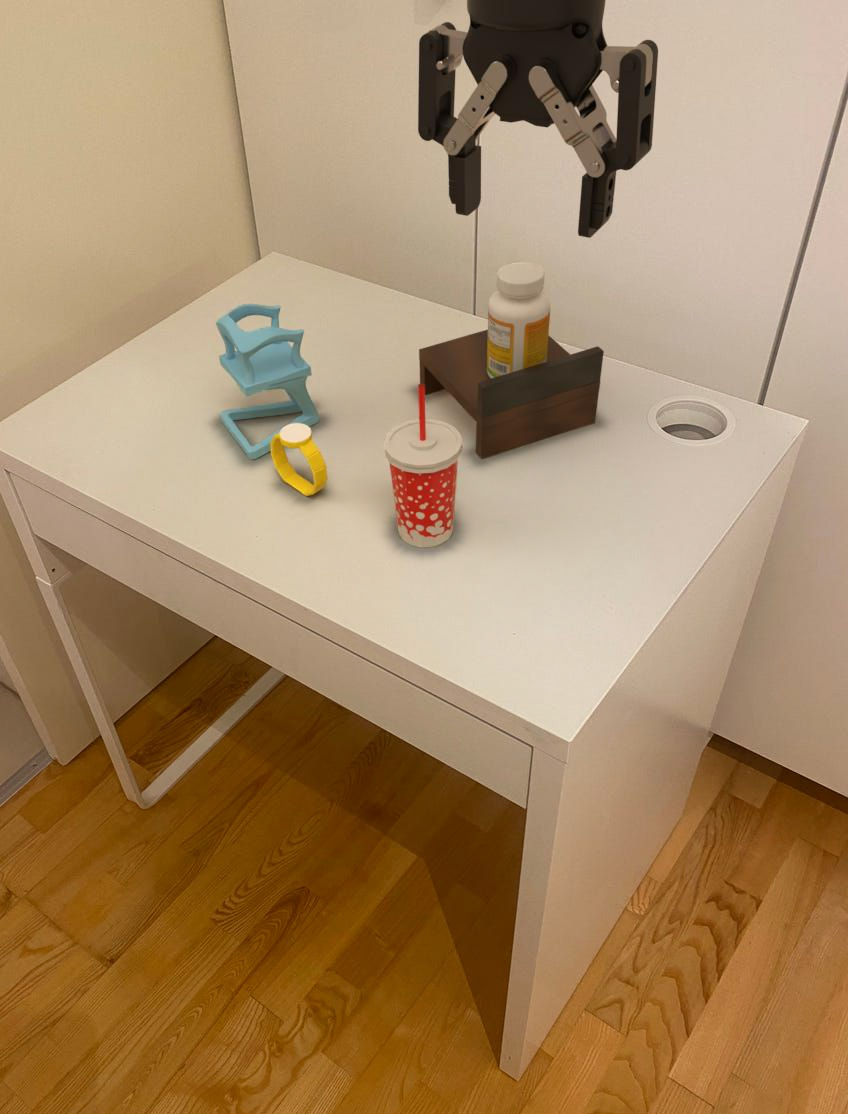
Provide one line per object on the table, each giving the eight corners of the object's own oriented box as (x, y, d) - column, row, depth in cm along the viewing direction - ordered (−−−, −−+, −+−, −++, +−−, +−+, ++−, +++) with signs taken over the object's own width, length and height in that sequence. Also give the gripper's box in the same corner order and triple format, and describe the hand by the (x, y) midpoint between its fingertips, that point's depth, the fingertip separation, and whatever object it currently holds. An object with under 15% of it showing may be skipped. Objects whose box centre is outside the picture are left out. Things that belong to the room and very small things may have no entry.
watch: (268, 480, 90) (258, 425, 85) (291, 466, 91) (282, 411, 86) (313, 508, 86) (305, 452, 82) (336, 493, 88) (329, 437, 83)
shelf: (526, 357, 101) (530, 288, 95) (595, 422, 92) (604, 350, 87) (419, 389, 98) (417, 320, 93) (481, 459, 90) (483, 387, 84)
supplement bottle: (545, 356, 92) (552, 256, 85) (546, 389, 89) (554, 287, 82) (486, 357, 93) (489, 257, 86) (486, 389, 89) (488, 288, 82)
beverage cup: (457, 556, 81) (458, 410, 71) (384, 551, 82) (374, 406, 72) (465, 508, 85) (466, 364, 75) (395, 504, 86) (386, 361, 76)
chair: (330, 433, 94) (318, 316, 85) (250, 461, 92) (229, 344, 83) (297, 394, 99) (282, 281, 90) (220, 420, 97) (197, 306, 88)
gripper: (699, -102, 50) (656, 216, 62) (454, -109, 56) (457, 182, 68) (642, -67, 46) (608, 267, 58) (385, -79, 52) (401, 226, 64)
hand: (527, 221), depth 63 cm, fingers open, 8 cm apart
